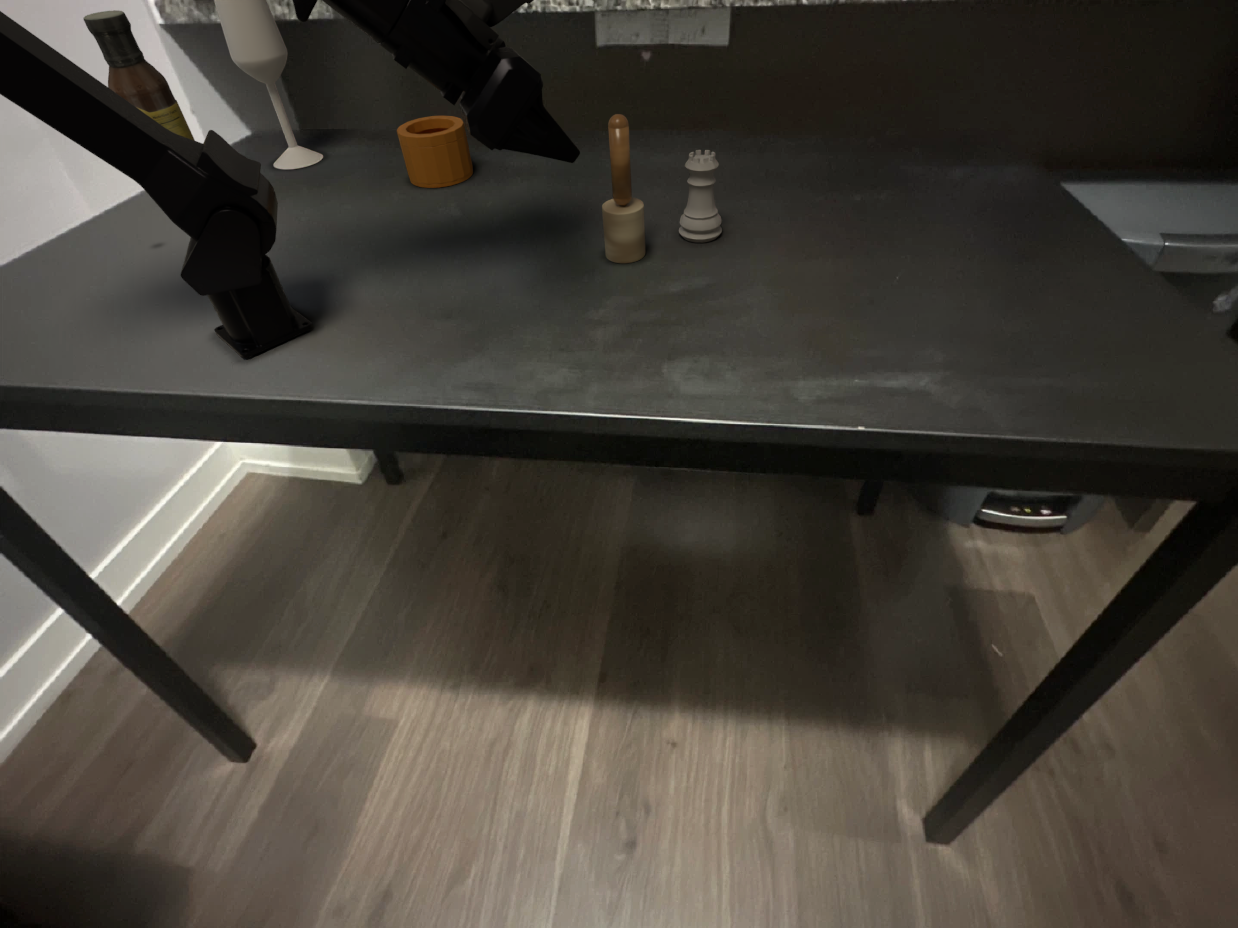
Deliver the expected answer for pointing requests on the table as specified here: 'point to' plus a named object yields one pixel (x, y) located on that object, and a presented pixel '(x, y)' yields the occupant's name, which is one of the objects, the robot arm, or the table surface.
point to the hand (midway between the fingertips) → (561, 140)
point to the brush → (622, 201)
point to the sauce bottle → (135, 71)
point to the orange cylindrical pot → (435, 151)
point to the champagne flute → (262, 63)
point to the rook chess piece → (701, 200)
